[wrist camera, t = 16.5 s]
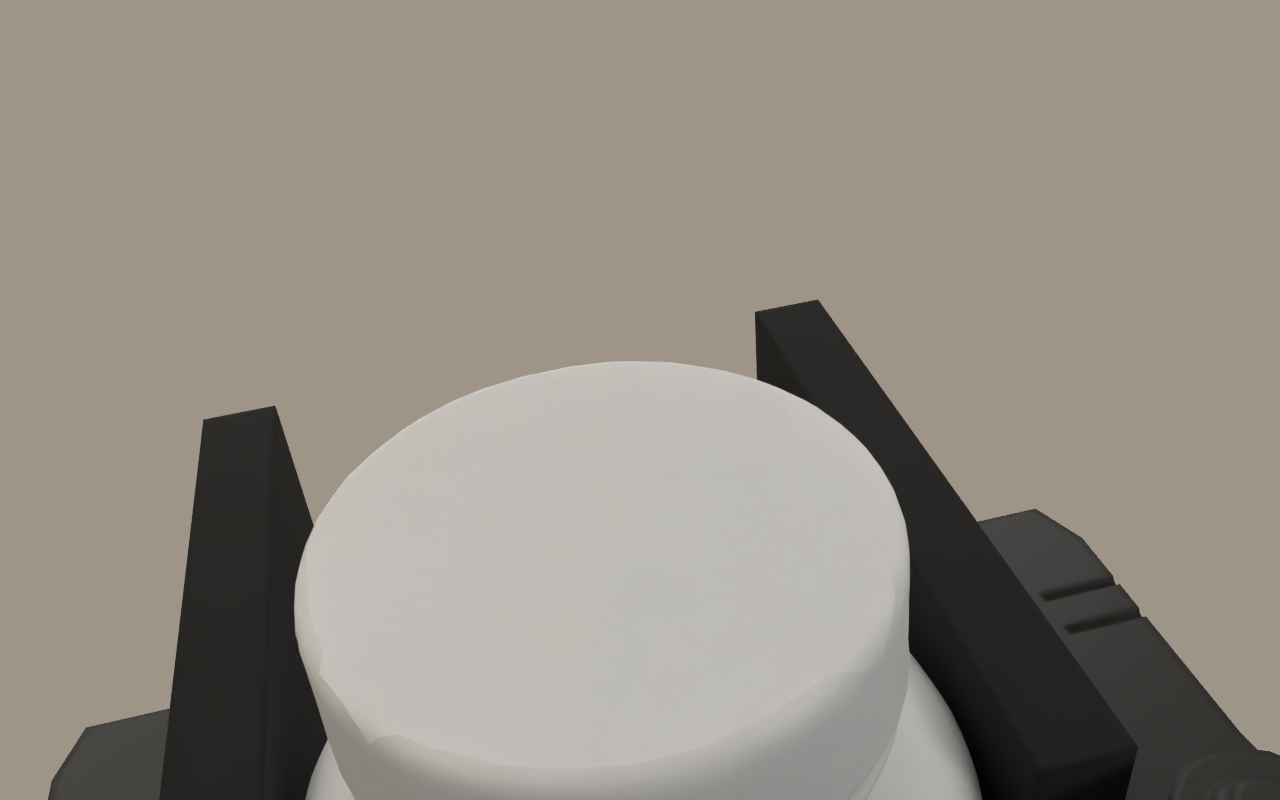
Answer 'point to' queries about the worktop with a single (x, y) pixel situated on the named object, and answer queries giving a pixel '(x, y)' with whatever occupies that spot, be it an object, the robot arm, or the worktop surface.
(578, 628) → the pill bottle
